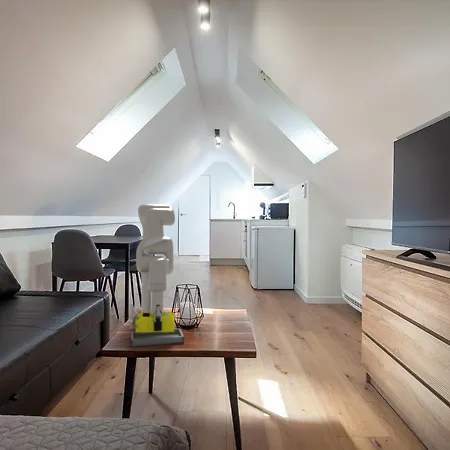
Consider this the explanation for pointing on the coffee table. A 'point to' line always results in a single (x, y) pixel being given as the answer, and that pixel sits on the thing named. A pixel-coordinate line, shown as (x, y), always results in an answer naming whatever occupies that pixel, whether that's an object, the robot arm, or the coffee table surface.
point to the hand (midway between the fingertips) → (157, 327)
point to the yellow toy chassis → (147, 322)
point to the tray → (156, 338)
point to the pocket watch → (135, 319)
